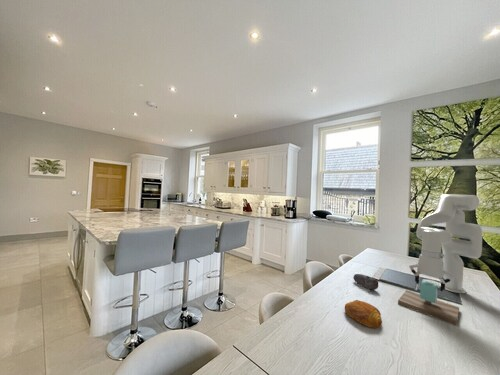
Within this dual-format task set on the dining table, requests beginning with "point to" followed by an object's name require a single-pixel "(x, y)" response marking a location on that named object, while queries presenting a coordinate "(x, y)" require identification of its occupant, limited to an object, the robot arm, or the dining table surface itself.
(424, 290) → the teal block
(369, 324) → the croissant
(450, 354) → the dining table surface
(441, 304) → the stud board
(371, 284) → the perforated stone tool
